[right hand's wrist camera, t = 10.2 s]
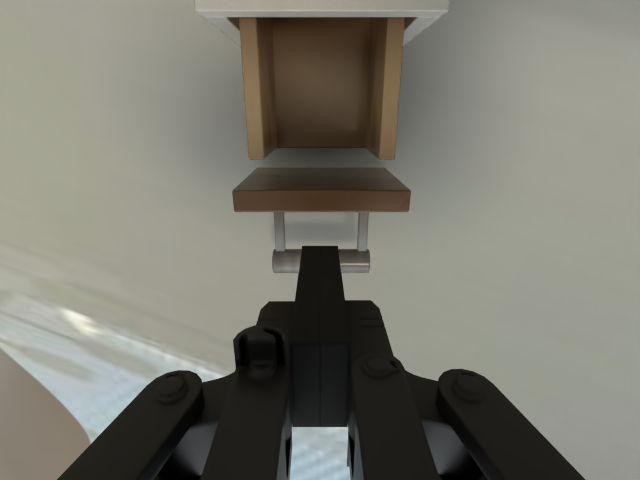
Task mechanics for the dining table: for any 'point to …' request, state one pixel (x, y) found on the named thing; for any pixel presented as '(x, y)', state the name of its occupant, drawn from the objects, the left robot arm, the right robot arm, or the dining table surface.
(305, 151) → the dining table surface
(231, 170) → the dining table surface
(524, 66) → the dining table surface
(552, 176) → the dining table surface
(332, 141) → the drawer
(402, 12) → the cabinet
